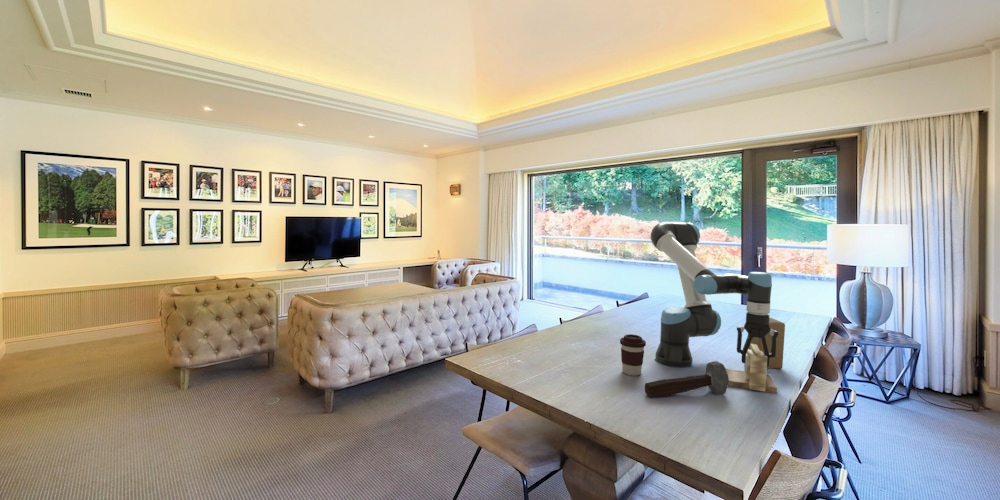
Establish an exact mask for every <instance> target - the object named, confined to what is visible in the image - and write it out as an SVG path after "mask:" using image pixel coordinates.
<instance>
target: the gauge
mask: <svg viewBox="0 0 1000 500" xmlns="http://www.w3.org/2000/svg"><path fill="white" fill-rule="evenodd" d="M750 348H751V350H750V349H748V351H747V353H746V354H747V355H748V368H747V373H746V377H747V379H749V389H748V390H751V391H752V390H754V391H758V392H765V388H766V374H767V369H768V368H767V356H765V355H764V354H763V352H762V351H760V350H759V348H758V346H757V344H751V345H750Z"/></svg>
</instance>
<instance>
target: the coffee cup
mask: <svg viewBox="0 0 1000 500" xmlns="http://www.w3.org/2000/svg"><path fill="white" fill-rule="evenodd" d="M646 343H647V342H646V340H645V339H643V338H642V336H641V335H637V334H631V333H630V334H625V335H624V336H623V337H621V338H620V340H619V344H620V345H621V347H620V352H621V354H620V355H621V359H620V360H621V367H622V369H621V370H622V372H623V373H624V374H625V375H629V376H634V377H636V376H640V375H641V374H642V368H643V363H644V356H645V347H646V345H647V344H646Z"/></svg>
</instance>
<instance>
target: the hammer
mask: <svg viewBox="0 0 1000 500" xmlns="http://www.w3.org/2000/svg"><path fill="white" fill-rule="evenodd" d="M725 368H726V367H725V365H724V364H723V363H721V362H719V361H717V360H716V361H714V360H713V361H710V362H708V363H706V366H705V370H704V374H699V375H692V376H683V377H673V378H672V377H671V378H665V379H659V380H655V381H649V382H646V383H645V385H644V392H645V394H646V396H648V397H649V398H650V399H657V398H659V399H660V398H666V397H670V396H674V395H678V394H681V393H685V392H690V391H693V390H697V389H701V388H705V387H708V388H709V390H710V391H711V392H713V393H714V394H716V395H718V396H721V395H722V396H723V395H724V394H726V392H727V389H728V387H729V386H728V383H729V378H728V374H727V371H726V369H727V368H726V369H725Z"/></svg>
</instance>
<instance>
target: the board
mask: <svg viewBox="0 0 1000 500" xmlns="http://www.w3.org/2000/svg"><path fill="white" fill-rule="evenodd" d="M725 369H726V371H727V374H728V378H729V383H728V387H734V388H735V387H736V388H741V389H747V390H750V389H749V379H747V377H746V372H745V371H744V370H739V369H738V370H737V369H732V368H731V369H730V368H726V367H725ZM777 390H778V388H777V385H776V384H775V382H774V380H773V378H772V376H771V375H770V374H768V373H766V388H765V391H764V392H765V393H766V392H767V393H773V394H778V393H777Z"/></svg>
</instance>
